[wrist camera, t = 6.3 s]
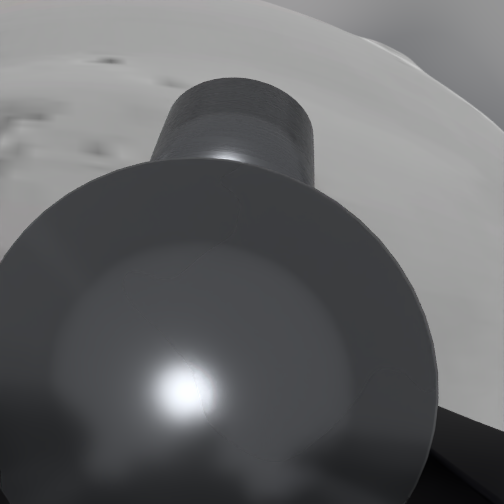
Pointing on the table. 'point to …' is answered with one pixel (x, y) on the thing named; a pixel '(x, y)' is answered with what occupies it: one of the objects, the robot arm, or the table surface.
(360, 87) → the table surface
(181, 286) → the pipe fitting
